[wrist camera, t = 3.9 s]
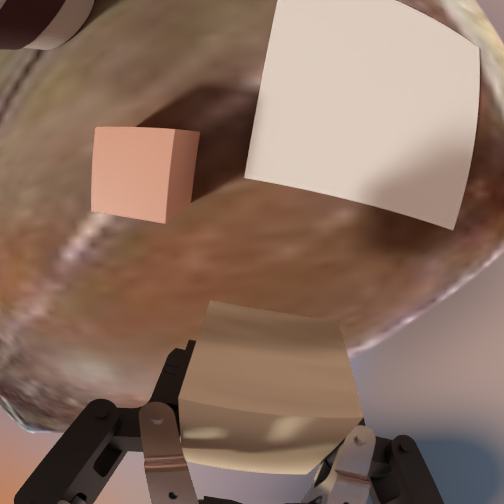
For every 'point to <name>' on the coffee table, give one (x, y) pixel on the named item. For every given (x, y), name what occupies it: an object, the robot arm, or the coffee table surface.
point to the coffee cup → (40, 22)
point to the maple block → (266, 391)
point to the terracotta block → (143, 171)
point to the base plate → (367, 106)
